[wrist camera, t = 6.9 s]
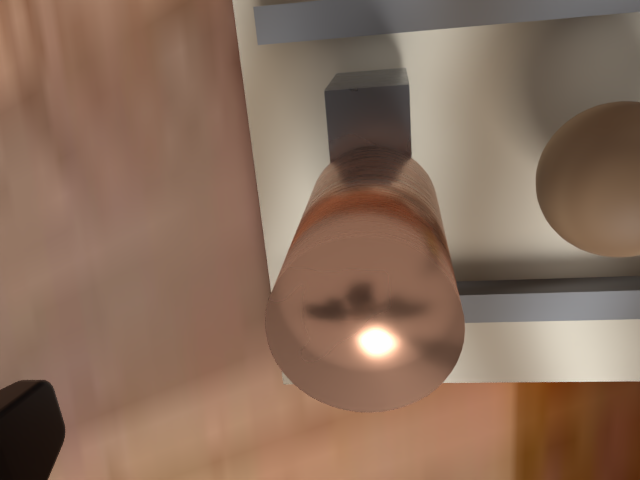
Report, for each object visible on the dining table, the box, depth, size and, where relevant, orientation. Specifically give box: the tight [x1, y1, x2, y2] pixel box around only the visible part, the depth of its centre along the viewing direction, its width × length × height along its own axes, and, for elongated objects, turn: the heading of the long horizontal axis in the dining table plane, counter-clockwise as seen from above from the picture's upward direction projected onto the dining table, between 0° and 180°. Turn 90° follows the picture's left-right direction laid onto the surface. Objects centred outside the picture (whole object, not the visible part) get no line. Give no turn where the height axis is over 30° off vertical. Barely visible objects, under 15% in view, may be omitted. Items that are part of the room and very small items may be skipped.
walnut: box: [536, 101, 640, 257], centre depth 15 cm, size 4×4×4 cm
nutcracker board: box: [232, 0, 640, 384], centre depth 16 cm, size 16×16×6 cm
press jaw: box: [265, 68, 465, 412], centre depth 14 cm, size 3×6×10 cm, turn 5°
